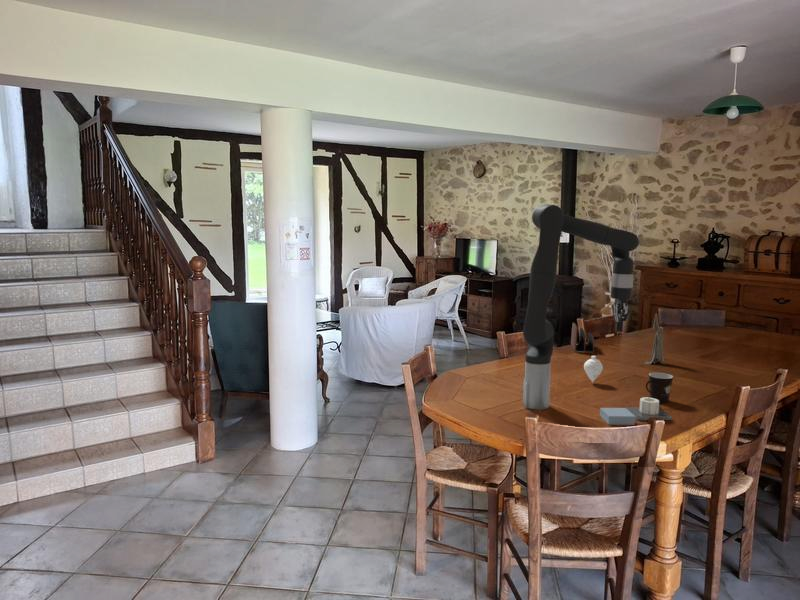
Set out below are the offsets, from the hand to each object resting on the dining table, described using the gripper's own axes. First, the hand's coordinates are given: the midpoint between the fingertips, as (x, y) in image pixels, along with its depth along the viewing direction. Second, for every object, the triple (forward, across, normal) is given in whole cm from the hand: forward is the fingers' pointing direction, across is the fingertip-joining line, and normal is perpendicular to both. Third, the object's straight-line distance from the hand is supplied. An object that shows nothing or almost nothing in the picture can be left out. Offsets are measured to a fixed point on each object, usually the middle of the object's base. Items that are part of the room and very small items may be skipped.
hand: (618, 331), depth 213 cm
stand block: (+28, -19, +6) cm, 34 cm away
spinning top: (+29, +28, 0) cm, 40 cm away
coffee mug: (+28, +4, -17) cm, 33 cm away
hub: (+28, -14, -8) cm, 32 cm away
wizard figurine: (+29, +64, -42) cm, 82 cm away
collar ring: (+26, -14, -8) cm, 31 cm away
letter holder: (+30, +96, -15) cm, 101 cm away
